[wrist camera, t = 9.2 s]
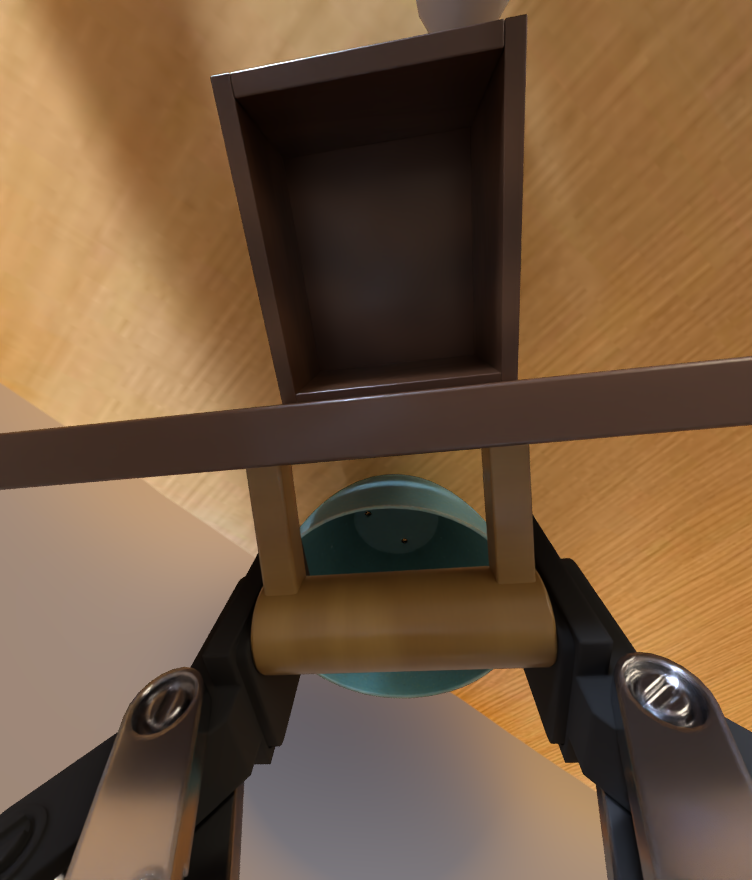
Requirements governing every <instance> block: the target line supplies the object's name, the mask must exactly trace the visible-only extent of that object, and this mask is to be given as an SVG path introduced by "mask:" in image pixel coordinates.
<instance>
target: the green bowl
mask: <svg viewBox="0 0 752 880" xmlns="http://www.w3.org/2000/svg"><path fill="white" fill-rule="evenodd" d="M367 511H369V512H371V515H369V516H367V515H366V514H365V512H367ZM300 534H301V539H302V544H303V548H304V552H305V556H306V561H307V565H308V569H309V573H310V576H315V575H333V574H351V573H369V572H387V571H405V570H423V569H441V568H459V567H477V566H489V558H488V543H487V527H486V522H485V520H484V519H483V518H482V517H481V516H480V515H479V514H478V513H477V512H476V511H475V510H474V509H473V508H472V507H470V506H469V505H468V504H467V503H466V502H464V501H463V500H462V499H461V498H459V497H458V496H456V495H455V494H453V493H452V492H451V491H449V490H447V489H445V488H444V487H442V486H440V485H438V484H436V483H433V482H431V481H428V480H426V479H422V478H419V477H415V476H410V475H401V474H389V475H380V476H374V477H370V478H367V479H364V480H361V481H358V482H356V483H354V484H352V485H349V486H347V487H346V488H344V489H342V490H340V491H339V492H337V493H336V494H334V495H333V496H332V497H330V498H329V499H328V500H326V501H325V502H324V503H323V504H322V505H320V506H319V507H318V508H317V509H316V510H315V511H314V512H313V513H312V514H311V515H310V516H309V517H308V518H307V519H306V520H305V522H304V523H303V524H302V525H301V526H300ZM402 539H407V542H406V543H403V542H402ZM492 670H493V669H472V670H437V671H402V672H368V673H333V674H317V675H319V676H320V677H322V678H324V679H326V680H328V681H330V682H332V683H334V684H336V685H339V686H341V687H343V688H346V689H349V690H352V691H355V692H358V693H362V694H366V695H372V696H378V697H387V698H417V697H426V696H432V695H438V694H442V693H446V692H450V691H453V690H456V689H459V688H462V687H464V686H467V685H469V684H471V683H473V682H475V681H477V680H478V679H480V678H482V677H483V676H485V675H486V674H488V673H489V672H490V671H492Z"/></svg>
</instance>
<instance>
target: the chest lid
mask: <svg viewBox="0 0 752 880" xmlns="http://www.w3.org/2000/svg"><path fill="white" fill-rule="evenodd" d="M747 425H752V356H747V357H738V358H728V359H718V360H708V361H699V362H689V363H679V364H670V365H660V366H650V367H640V368H631V369H621V370H611V371H602V372H592V373H582V374H573V375H563V376H553V377H543V378H534V379H524V380H514V381H505V382H495V383H485V384H476V385H466V386H456V387H446V388H437V389H427V390H417V391H408V392H398V393H388V394H378V395H369V396H359V397H349V398H340V399H330V400H320V401H311V402H301V403H291V404H281V405H272V406H262V407H252V408H243V409H233V410H223V411H213V412H204V413H194V414H184V415H175V416H165V417H155V418H146V419H136V420H126V421H116V422H107V423H97V424H87V425H78V426H68V427H58V428H50V429H39V430H29V431H20V432H10V433H0V490H5V489H16V488H27V487H39V486H50V485H62V484H74V483H86V482H98V481H108V480H120V479H132V478H144V477H156V476H167V475H179V474H190V473H202V472H213V471H225V470H237V469H246V472H247V479H248V486H249V492H250V499H251V506H252V512H253V519H254V526H255V533H256V539H257V546H258V553H259V559H260V566H261V573H262V579H263V587H262V589H261V591H260V593H259V595H258V598H257V601H256V604H255V608H254V612H253V618H252V626H251V651H252V658H253V662H254V665H255V667H256V669H257V670H258V671H259V672H260V673H261V674H263V675H298V674H333V673H368V672H402V671H437V670H472V669H507V668H542V667H550V666H552V665H554V664H555V662H556V659H557V652H558V642H557V631H556V623H555V618H554V613H553V609H552V605H551V602H550V599H549V596H548V593H547V590H546V588H545V585H544V583H543V581H542V579H541V577H540V575H539V574H538V572H537V571H536V569H535V559H534V538H533V518H532V497H531V477H530V457H529V444H538V443H550V442H561V441H573V440H585V439H596V438H608V437H619V436H631V435H642V434H654V433H666V432H677V431H689V430H700V429H712V428H724V427H735V426H747ZM480 448H481V451H482V467H483V482H484V497H485V512H486V527H487V543H488V558H489V566H477V567H459V568H441V569H423V570H405V571H387V572H369V573H351V574H333V575H315V576H306V571H305V564H304V556H303V549H302V541H301V534H300V526H299V519H298V511H297V504H296V496H295V489H294V481H293V474H292V466H291V465H295V464H306V463H318V462H329V461H341V460H353V459H364V458H376V457H387V456H399V455H411V454H422V453H434V452H445V451H457V450H469V449H480Z"/></svg>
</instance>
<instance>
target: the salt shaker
mask: <svg viewBox="0 0 752 880" xmlns="http://www.w3.org/2000/svg"><path fill="white" fill-rule="evenodd" d="M508 2H509V0H416V3H417V8H418V13H419V17H420V19H421V21H422V23H423V24H424V26H425V28H426V29H427V31H428V32H429V33H435V32H440V31H445V30H450V29H455V28H460V27H465V26H470V25H475V24H480V23H485V22H490V21H495V20H499V18H500V16H501V14H502V13H503V11H504V9H505V7H506V6H507V4H508Z"/></svg>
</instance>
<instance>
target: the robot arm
mask: <svg viewBox="0 0 752 880" xmlns="http://www.w3.org/2000/svg"><path fill="white" fill-rule="evenodd" d="M532 518H533V538H534V559H535V569H536V571H537V572H538V574H539V575H540V577H541V579H542V581H543V583H544V585H545V588H546V590H547V593H548V596H549V599H550V602H551V605H552V609H553V613H554V618H555V623H556V631H557V642H558V652H557V659H556V662H555V664H554V665H552V666H550V667H542V668H524V671H525V674H526V677H527V680H528V683H529V686H530V689H531V691H532V694H533V697H534V700H535V703H536V706H537V709H538V712H539V715H540V718H541V720H542V723H543V726H544V729H545V732H546V735H547V737H548V739H549V741H550V743H551V744H559V747H560V750H561V753H562V755H563V758H564V761H565V763H579V765H580V767H581V770H582V772H583V774H584V775H585V776H586V777H587V778H589V779H590V780H591V781H592V782H594V783H595V784H596V789H597V797H598V805H599V813H600V822H601V829H602V837H603V845H604V854H605V862H606V870H607V878H608V880H752V732H750V731H749V730H747V729H745V728H743V727H741V726H740V725H738V724H736V723H734V722H732V721H731V720H729V719H727V718H725V717H724V715H723V713H722V710H721V708H720V706H719V704H718V702H717V701H716V699H715V697H714V696H713V694H712V693H711V691H710V690H709V689H708V688H707V687H706V686H705V685H704V684H703V682H702V681H701V680H700V679H699V678H698V677H696V676H695V675H694V674H692V673H691V672H690V671H688V670H687V669H686V668H684V667H683V666H681V665H679V664H677V663H675V662H673V661H671V660H669V659H667V658H664V657H661V656H658V655H655V654H652V653H643V652H636V650H635V649H634V647H633V646H632V644H631V643H630V642H629V640H628V639H627V637H626V636H625V634H624V633H623V631H622V630H621V628H620V627H619V625H618V624H617V623H616V621H615V620H614V618H613V617H612V615H611V614H610V612H609V611H608V609H607V608H606V606H605V605H604V604H603V602H602V601H601V599H600V598H599V596H598V595H597V593H596V592H595V590H594V589H593V587H592V586H591V585H590V583H589V582H588V580H587V579H586V577H585V576H584V574H583V573H582V571H581V570H580V568H579V567H578V566H577V564H576V563H575V562H574V561H573V560H572V559H570V558H564V559H561V558H560V557H559V555H558V554H557V552H556V551H555V549H554V547H553V546H552V544H551V543H550V541H549V540H548V538H547V536H546V535H545V533H544V532H543V530H542V529H541V527H540V525H539V524H538V522H537V521H536V519H535V518H534V516H533V514H532ZM301 541H302V539H301ZM302 549H303V556H304V564H305V571H306V576H310V573H309V569H308V565H307V561H306V556H305V552H304V548H303V544H302ZM262 587H263V579H262V573H261V566H260V559H259V553H258V554H257V556H256V558H255V560H254V562H253V564H252V565H251V567H250V569H249V571H248V573H247V575H246V576H245V577H243V578H242V579H241V580H240V581H239V582H238V584H237V585H236V587H235V589H234V591H233V593H232V594H231V596H230V598H229V600H228V602H227V603H226V605H225V607H224V609H223V611H222V612H221V614H220V616H219V617H218V619H217V621H216V623H215V625H214V626H213V628H212V630H211V632H210V634H209V635H208V637H207V639H206V641H205V642H204V644H203V646H202V648H201V650H200V651H199V653H198V655H197V657H196V658H195V660H194V662H193V664H192V666H191V667H190V668H189V667H181V668H176V669H172V670H170V671H168V672H166V673H163V674H161V675H160V676H158V677H157V678H155V679H154V680H152V681H151V682H149V683H148V685H146V686H145V687H144V688H143V689H142V690H141V691H140V692H139V693H138V694H137V695H136V697H135V698H134V699H133V701H132V702H131V703H130V705H129V707H128V709H127V711H126V713H125V715H124V717H123V719H122V722H121V725H120V728H119V730H118V732H117V733H116V734H114V735H113V736H112V737H110V738H109V739H107V740H106V741H104V742H103V743H101V744H100V745H99V746H97V747H96V748H94V749H93V750H92V751H90V752H89V753H87V754H86V755H84V756H83V757H81V758H80V759H78V760H77V761H76V762H74V763H73V764H71V765H70V766H68V767H67V768H66V769H64V770H63V771H61V772H60V773H58V774H57V775H55V776H54V777H53V778H51V779H50V780H48V781H47V782H46V783H44V784H43V785H41V786H40V787H38V788H37V789H35V790H34V791H32V792H31V793H30V794H28V795H27V796H25V797H24V798H22V799H21V800H20V801H18V802H17V803H15V804H14V805H12V806H11V807H9V808H8V809H7V810H6V811H4V812H3V813H2V814H1V815H0V880H239V874H240V855H241V835H242V816H243V815H242V814H243V797H244V796H243V795H244V781H245V780H246V779H247V778H248V777H249V776H250V775H251V772H252V769H253V766H254V764H271V760H272V757H273V753H274V749H275V746H281V745H282V743H283V740H284V736H285V733H286V729H287V725H288V721H289V717H290V713H291V709H292V706H293V702H294V698H295V694H296V690H297V686H298V682H299V678H300V675H301V674H298V675H263V674H261V673H260V672H259V671H258V670H257V669H256V667H255V665H254V662H253V658H252V651H251V626H252V618H253V612H254V608H255V604H256V601H257V598H258V595H259V593H260V591H261V589H262Z"/></svg>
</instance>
